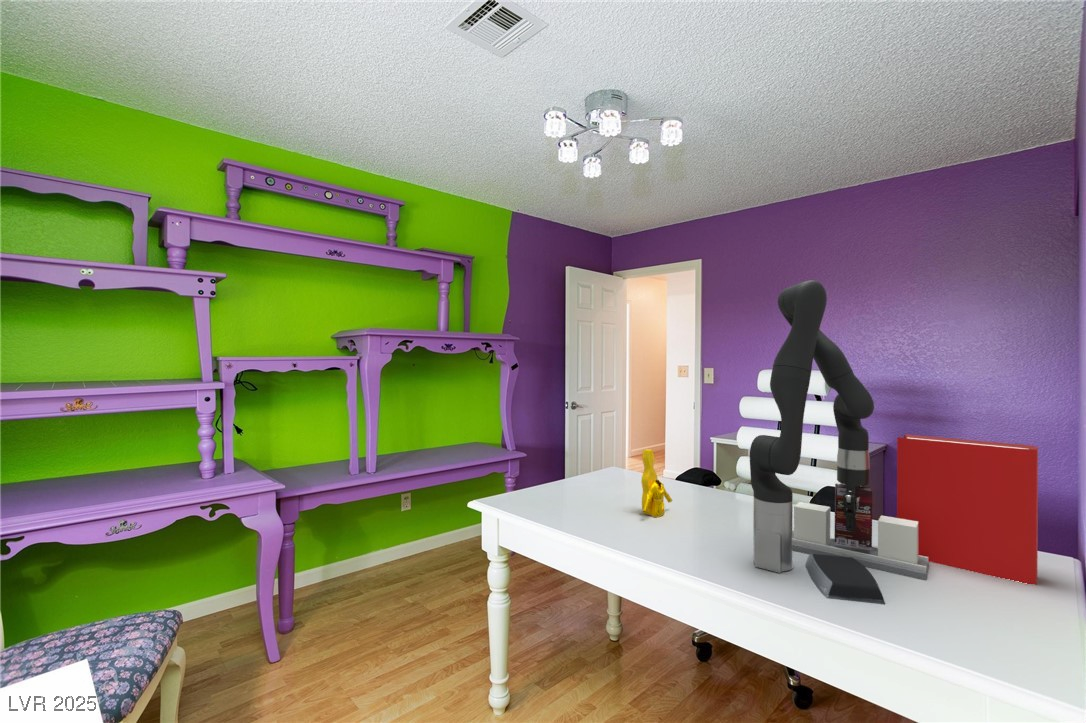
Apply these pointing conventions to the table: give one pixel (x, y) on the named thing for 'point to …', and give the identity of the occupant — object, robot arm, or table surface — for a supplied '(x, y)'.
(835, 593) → the external hard drive
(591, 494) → the table surface
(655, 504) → the figure statuette
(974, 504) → the book
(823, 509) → the board
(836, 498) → the supplement box
